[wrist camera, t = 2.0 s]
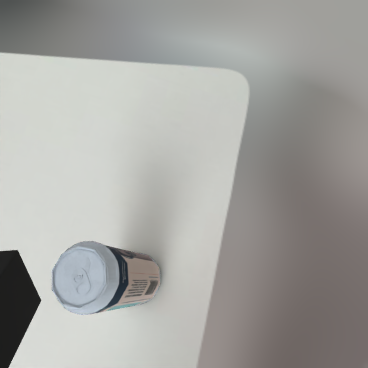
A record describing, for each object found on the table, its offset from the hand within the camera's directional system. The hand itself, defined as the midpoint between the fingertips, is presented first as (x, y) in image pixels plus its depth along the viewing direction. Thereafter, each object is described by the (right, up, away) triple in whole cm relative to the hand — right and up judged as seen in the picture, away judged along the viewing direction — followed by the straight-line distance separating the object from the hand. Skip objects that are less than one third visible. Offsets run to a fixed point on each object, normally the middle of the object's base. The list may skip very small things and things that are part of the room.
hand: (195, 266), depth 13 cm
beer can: (-5, -6, +21) cm, 22 cm away
